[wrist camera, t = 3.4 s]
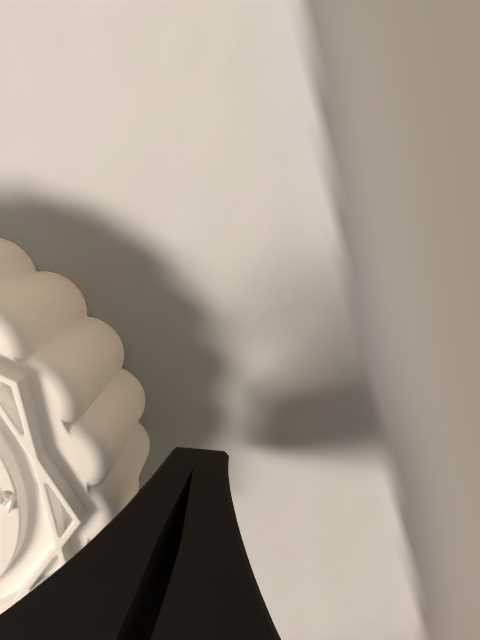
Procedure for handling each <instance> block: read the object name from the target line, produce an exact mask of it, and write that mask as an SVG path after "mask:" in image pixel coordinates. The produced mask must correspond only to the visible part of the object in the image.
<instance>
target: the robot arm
mask: <svg viewBox="0 0 480 640" xmlns="http://www.w3.org/2000/svg"><path fill="white" fill-rule="evenodd" d="M228 461H229V455H228V454H227V453H226V452H225V451H215V450H203V449H192V448H181V447H177V448H175V449H174V450H173V451H172V452H171V453H170V455H169V456H168V457H167V459H166V460H165V461H164V462H163V464H162V465H161V466H160V467H159V469H158V470H157V471H156V472H155V473H154V475H153V476H152V477H151V478H150V479H149V480H148V482H147V483H146V484H145V485H144V486H143V487H142V488H141V489H140V491H139V492H138V493H137V494H136V495H135V496H134V497H133V498H132V499H131V501H130V502H129V503H128V504H127V505H126V506H125V507H124V508H123V509H122V510H121V511H120V512H119V513H118V514H117V515H116V516H115V517H114V518H113V519H112V520H111V521H110V522H109V523H108V524H107V525H106V526H105V527H104V528H103V529H102V530H101V531H100V532H99V533H98V534H97V535H96V536H95V537H94V538H93V539H92V540H91V541H90V542H89V543H87V544H86V545H85V546H84V547H83V548H82V549H81V550H80V551H79V552H78V553H76V554H75V555H74V556H73V557H72V558H71V559H70V560H68V561H67V562H66V563H65V564H64V565H63V566H61V567H60V568H59V569H58V570H57V571H55V572H54V573H53V574H52V575H51V576H49V577H48V578H47V579H46V580H44V581H43V582H42V583H41V584H39V585H38V586H37V587H35V588H34V589H33V590H32V591H30V592H29V593H28V594H27V595H25V596H24V597H23V598H22V599H20V600H19V601H18V602H16V603H15V604H14V605H12V606H11V607H10V608H8V609H7V610H6V611H4V612H3V613H1V614H0V640H281V639H280V636H279V634H278V632H277V630H276V628H275V626H274V624H273V621H272V619H271V616H270V614H269V612H268V609H267V607H266V605H265V602H264V600H263V597H262V595H261V592H260V590H259V587H258V585H257V582H256V579H255V577H254V574H253V571H252V568H251V566H250V563H249V560H248V557H247V554H246V550H245V547H244V544H243V541H242V538H241V534H240V530H239V527H238V523H237V519H236V515H235V511H234V506H233V502H232V497H231V492H230V485H229V477H228Z"/></svg>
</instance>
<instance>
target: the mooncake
mask: <svg viewBox="0 0 480 640" xmlns="http://www.w3.org/2000/svg"><path fill="white" fill-rule="evenodd" d="M123 362H124V347H123V344H122V341H121V339H120V337H119V335H118V334H117V333H116V331H115V330H114V329H113V328H112V327H111V326H109V325H108V324H107V323H105V322H103V321H101V320H99V319H97V318H93V317H89V316H87V305H86V302H85V299H84V297H83V295H82V293H81V292H80V290H79V289H78V287H77V286H76V285H75V284H74V283H73V282H71V281H70V280H69V279H67V278H66V277H64V276H62V275H60V274H57V273H54V272H48V271H38V272H37V271H36V268H35V266H34V264H33V262H32V260H31V259H30V257H29V256H28V254H27V253H26V252H25V251H24V250H23V249H22V248H20V247H19V246H18V245H16V244H15V243H13V242H11V241H9V240H6V239H3V238H0V614H1V613H3V612H4V611H6V610H7V609H8V608H10V607H11V606H12V605H14V604H15V603H16V602H18V601H19V600H20V599H22V598H23V597H24V596H25V595H27V594H28V593H29V592H30V591H32V590H33V589H34V588H35V587H37V586H38V585H39V584H41V583H42V582H43V581H44V580H46V579H47V578H48V577H49V576H51V575H52V574H53V573H54V572H55V571H57V570H58V569H59V568H60V567H61V566H63V565H64V564H65V563H66V562H67V561H68V560H70V559H71V558H72V557H73V556H74V555H75V554H76V553H78V552H79V551H80V550H81V549H82V548H83V547H84V546H85V545H86V544H87V543H89V542H90V541H91V540H92V539H93V538H94V537H95V536H96V535H97V534H98V533H99V532H100V531H101V530H102V529H103V528H104V527H105V526H106V525H107V524H108V523H109V522H110V521H111V520H112V519H113V518H114V517H115V516H116V515H117V514H118V513H119V512H120V511H121V510H122V509H123V508H124V507H125V506H126V505H127V504H128V503H129V502H130V501H131V499H132V498H133V497H134V496H135V495H136V494H137V493H138V490H139V478H138V477H139V475H140V472H141V470H142V468H143V466H144V464H145V461H146V459H147V457H148V455H149V450H150V440H149V436H148V434H147V432H146V430H145V428H144V427H143V426H142V425H141V424H140V423H139V422H138V421H139V420H140V418H141V416H142V414H143V412H144V408H145V393H144V390H143V387H142V386H141V384H140V382H139V381H138V380H137V378H136V377H135V376H133V375H132V374H131V373H130V372H128V371H127V370H125V369H123V368H122V366H123Z"/></svg>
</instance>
